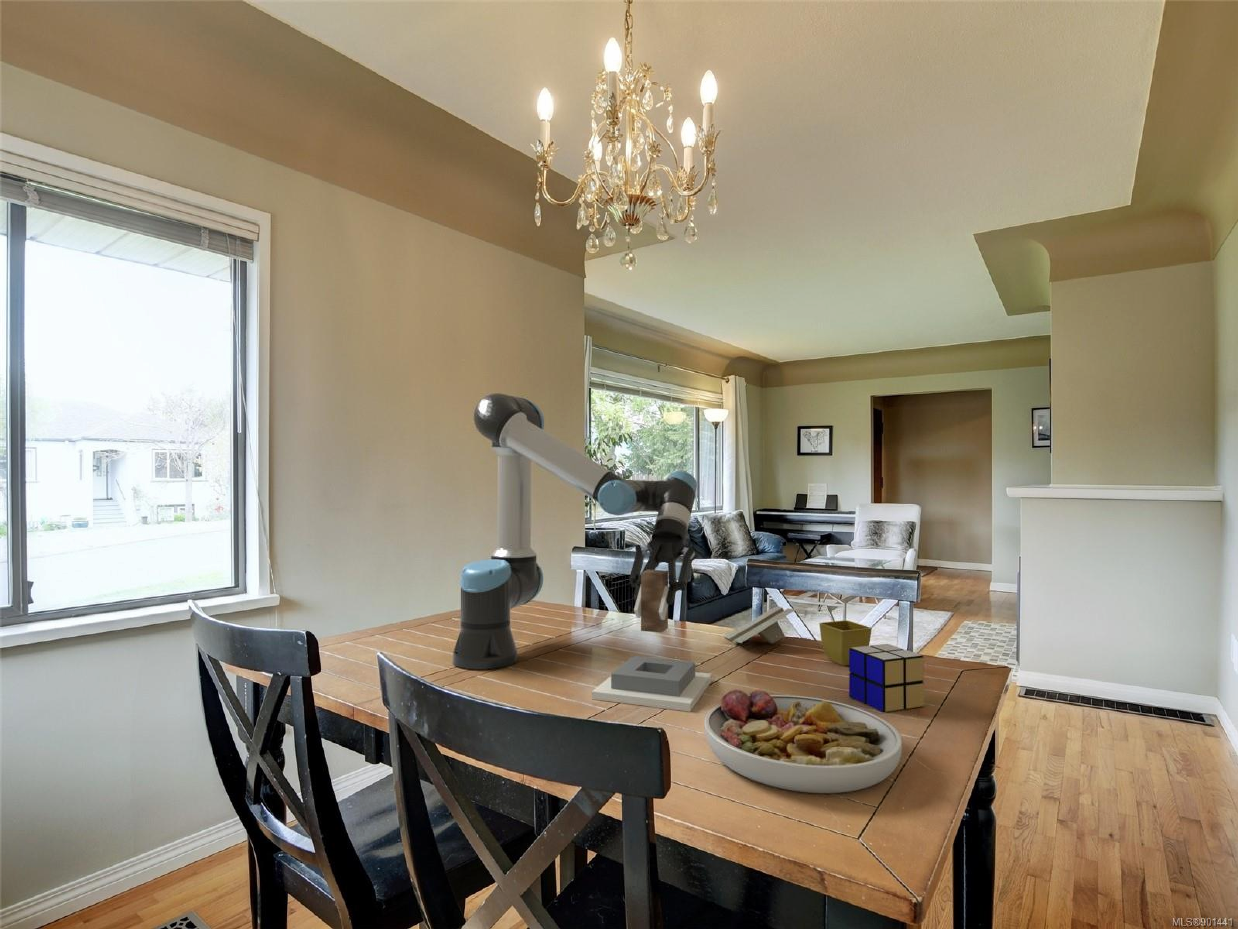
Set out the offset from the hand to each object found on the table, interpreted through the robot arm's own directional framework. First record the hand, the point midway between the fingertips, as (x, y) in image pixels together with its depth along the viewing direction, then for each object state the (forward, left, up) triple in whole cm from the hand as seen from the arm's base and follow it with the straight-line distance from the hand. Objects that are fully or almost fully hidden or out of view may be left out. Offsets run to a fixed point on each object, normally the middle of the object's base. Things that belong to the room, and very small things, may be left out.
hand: (649, 614), depth 134 cm
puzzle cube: (+45, +13, -17) cm, 50 cm away
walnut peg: (0, +4, -4) cm, 5 cm away
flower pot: (+37, +39, -16) cm, 56 cm away
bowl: (+31, -19, -17) cm, 40 cm away
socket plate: (0, +4, -16) cm, 17 cm away
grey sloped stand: (+15, +50, -17) cm, 54 cm away
